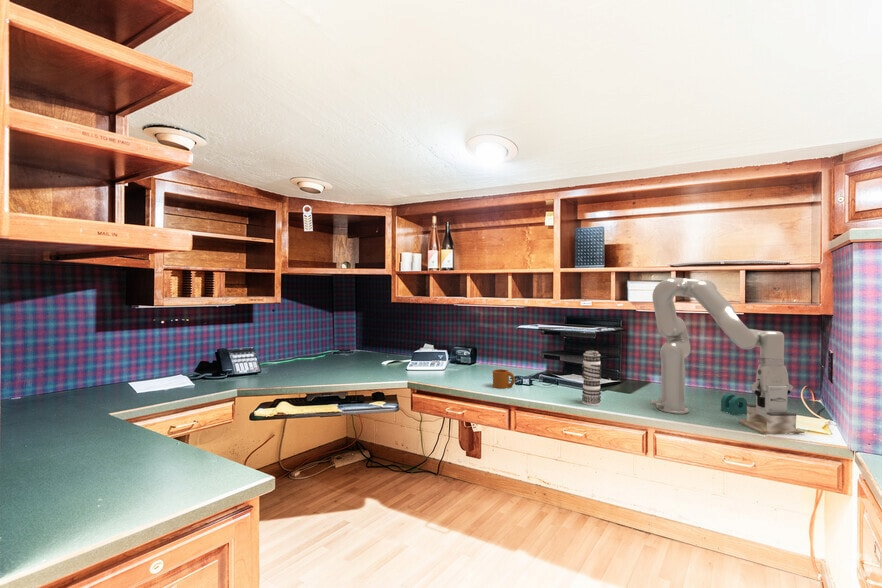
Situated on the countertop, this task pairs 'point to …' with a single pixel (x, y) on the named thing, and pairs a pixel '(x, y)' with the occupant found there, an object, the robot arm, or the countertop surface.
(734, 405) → the bracket
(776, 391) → the supplement box
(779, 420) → the clip holder
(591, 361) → the decorative candle
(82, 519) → the countertop surface
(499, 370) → the mug
